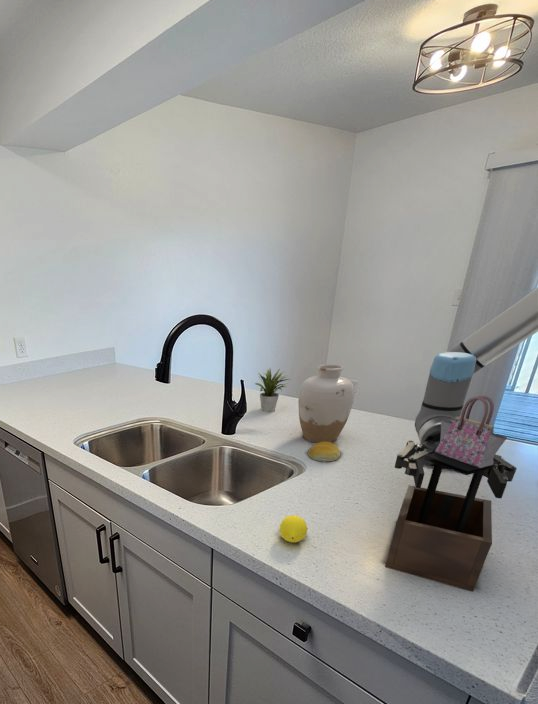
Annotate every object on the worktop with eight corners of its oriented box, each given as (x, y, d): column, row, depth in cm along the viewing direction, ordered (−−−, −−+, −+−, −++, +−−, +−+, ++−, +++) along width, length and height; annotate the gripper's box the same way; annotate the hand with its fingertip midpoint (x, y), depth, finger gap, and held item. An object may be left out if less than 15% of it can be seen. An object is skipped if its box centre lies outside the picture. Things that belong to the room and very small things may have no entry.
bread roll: (305, 459, 126) (306, 446, 125) (313, 449, 133) (315, 437, 131) (335, 464, 122) (337, 451, 120) (342, 454, 128) (344, 441, 127)
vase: (284, 439, 142) (292, 368, 131) (308, 426, 151) (318, 359, 141) (332, 450, 131) (344, 374, 121) (355, 436, 140) (368, 364, 130)
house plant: (275, 418, 161) (280, 374, 153) (242, 412, 169) (245, 370, 162) (292, 409, 170) (297, 366, 162) (260, 404, 178) (263, 363, 171)
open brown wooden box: (475, 545, 85) (491, 500, 81) (473, 591, 74) (492, 543, 69) (397, 526, 93) (408, 485, 88) (384, 566, 81) (396, 521, 76)
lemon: (279, 529, 94) (282, 507, 92) (306, 533, 92) (309, 511, 90) (276, 547, 89) (279, 524, 86) (304, 551, 87) (308, 528, 84)
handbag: (393, 542, 86) (433, 392, 72) (421, 533, 88) (464, 386, 75) (444, 572, 77) (500, 408, 64) (473, 561, 79) (534, 400, 66)
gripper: (505, 464, 87) (539, 517, 69) (375, 451, 96) (376, 494, 79) (518, 428, 83) (557, 474, 66) (382, 418, 93) (385, 456, 75)
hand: (459, 485), depth 72 cm, fingers closed on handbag, 10 cm apart
